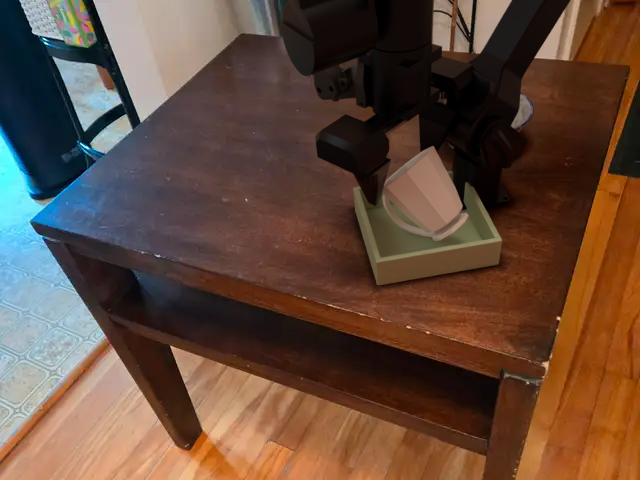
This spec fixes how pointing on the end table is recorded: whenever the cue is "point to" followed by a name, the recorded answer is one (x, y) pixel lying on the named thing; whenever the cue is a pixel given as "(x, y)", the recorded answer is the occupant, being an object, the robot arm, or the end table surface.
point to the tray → (426, 242)
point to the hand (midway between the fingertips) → (400, 182)
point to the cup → (424, 197)
